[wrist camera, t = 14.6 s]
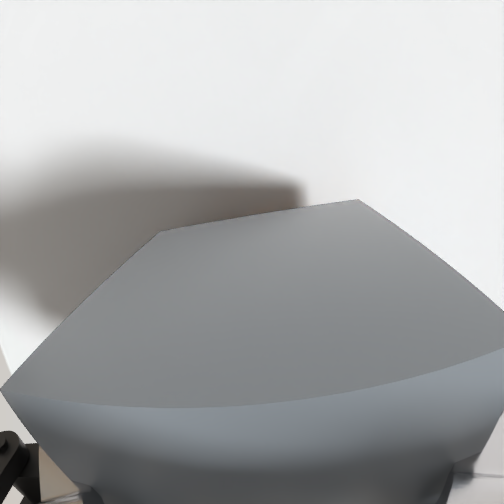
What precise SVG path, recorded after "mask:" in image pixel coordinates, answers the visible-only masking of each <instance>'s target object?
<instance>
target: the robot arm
mask: <svg viewBox="0 0 504 504" xmlns="http://www.w3.org/2000/svg"><path fill="white" fill-rule="evenodd" d="M12 485H13V486H14V487H15V488H16V489H17V490H18V491H19V492H20V493H21V494H22V495H24V498H23V499H22V501H21V503H20V504H104V502H103V499H102V497H101V496H100V495H99V494H98V493H97V492H96V491H95V490H94V489H93V488H92V487H91V486H90V485H87V484H83V483H79V482H76V481H72V480H70V479H69V478H68V477H67V476H66V475H65V474H64V473H63V472H62V471H61V470H60V468H59V467H58V466H57V465H56V464H55V463H54V462H53V461H52V460H51V458H50V457H49V456H48V455H47V454H46V453H45V451H44V450H43V449H42V448H41V447H40V445H39V444H38V443H33V444H24V443H23V442H22V440H21V439H20V438H19V436H18V435H17V434H16V433H15V432H13V431H3V432H0V504H2V503H3V500H4V499H5V497H6V496H7V494H8V492H9V491H10V489H11V487H12ZM435 504H504V409H503V412H502V414H501V416H500V418H499V420H498V422H497V424H496V426H495V428H494V430H493V432H492V434H491V436H490V438H489V440H488V442H487V444H486V446H485V447H484V449H483V451H481V452H479V453H477V454H474V455H472V456H470V457H467V458H465V459H462V460H460V461H457V462H455V463H454V465H453V467H452V469H451V471H450V473H449V474H448V477H447V480H446V483H445V485H444V488H443V490H442V493H441V495H440V497H439V499H438V500H437V502H436V503H435Z"/></svg>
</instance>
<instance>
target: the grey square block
mask: <svg viewBox="0 0 504 504" xmlns="http://www.w3.org/2000/svg"><path fill="white" fill-rule="evenodd" d="M0 391H1V393H2V394H3V396H4V397H5V399H6V401H7V402H8V404H9V405H10V406H11V408H12V409H13V411H14V412H15V414H16V415H17V417H18V418H19V419H20V420H21V422H22V423H23V425H24V426H25V427H26V429H27V430H28V431H29V433H30V434H31V435H32V437H33V438H34V439H35V440H36V442H37V443H38V444H39V445H40V447H41V448H42V449H43V450H44V451H45V453H46V454H47V455H48V456H49V457H50V458H51V460H52V461H53V462H54V463H55V464H56V465H57V466H58V467H59V468H60V470H61V471H62V472H63V473H64V474H65V475H66V476H67V477H68V478H69V479H70V480H72V481H76V482H79V483H83V484H87V485H90V486H91V487H92V488H93V489H94V490H95V491H96V492H97V493H98V494H99V495H100V496H101V497H102V499H103V502H104V504H435V503H436V502H437V500H438V499H439V497H440V495H441V493H442V490H443V488H444V485H445V483H446V480H447V477H448V474H449V473H450V471H451V469H452V467H453V465H454V463H455V462H457V461H460V460H462V459H465V458H467V457H470V456H472V455H474V454H477V453H479V452H481V451H483V449H484V447H485V446H486V444H487V442H488V440H489V438H490V436H491V434H492V432H493V430H494V428H495V426H496V424H497V422H498V420H499V418H500V416H501V414H502V412H503V409H504V311H503V310H502V309H501V308H500V307H498V306H497V305H496V304H495V303H494V302H493V301H492V300H491V299H489V298H488V297H487V296H486V295H485V294H484V293H482V292H481V291H480V290H479V289H478V288H477V287H475V286H474V285H473V284H472V283H471V282H469V281H468V280H467V279H466V278H465V277H463V276H462V275H461V274H460V273H458V272H457V271H456V270H455V269H454V268H452V267H451V266H450V265H449V264H447V263H446V262H445V261H443V260H442V259H441V258H440V257H438V256H437V255H436V254H434V253H433V252H432V251H431V250H429V249H428V248H427V247H425V246H424V245H423V244H421V243H420V242H419V241H417V240H416V239H415V238H413V237H412V236H410V235H409V234H408V233H406V232H405V231H404V230H402V229H401V228H399V227H398V226H397V225H395V224H394V223H392V222H391V221H390V220H388V219H387V218H385V217H384V216H382V215H381V214H379V213H378V212H377V211H375V210H374V209H372V208H371V207H369V206H368V205H366V204H365V203H363V202H362V201H360V200H359V199H357V200H350V201H342V202H335V203H328V204H321V205H314V206H307V207H301V208H294V209H288V210H281V211H275V212H269V213H262V214H256V215H250V216H244V217H238V218H232V219H226V220H220V221H214V222H209V223H203V224H197V225H192V226H186V227H181V228H175V229H170V230H165V231H160V232H159V233H158V234H157V235H155V236H154V237H153V238H152V239H151V240H150V241H149V242H147V243H146V244H145V245H144V246H143V247H142V248H141V249H139V250H138V251H137V252H136V253H135V254H134V255H133V256H132V257H130V258H129V259H128V260H127V261H126V262H125V263H124V264H123V265H122V266H121V267H119V268H118V269H117V270H116V271H115V272H114V273H113V274H112V275H111V276H110V277H109V278H107V279H106V280H105V281H104V282H103V283H102V284H101V285H100V286H99V287H98V288H97V289H96V290H95V291H94V292H93V293H92V294H91V295H89V296H88V297H87V298H86V299H85V300H84V301H83V302H82V303H81V304H80V305H79V306H78V307H77V308H76V309H75V310H74V311H73V312H72V313H71V314H70V315H69V316H68V317H67V318H66V319H65V320H64V321H63V322H62V323H61V324H60V325H59V326H58V327H57V328H56V329H55V330H54V331H53V332H52V333H51V334H50V335H49V336H48V337H47V338H46V339H45V340H44V341H43V342H42V343H41V345H40V346H39V347H38V348H37V349H36V350H35V351H34V352H33V353H32V354H31V355H30V356H29V357H28V358H27V359H26V361H25V362H24V363H23V364H22V365H21V366H20V367H19V368H18V369H17V370H16V371H15V373H14V374H13V375H12V376H11V377H10V378H9V379H8V381H7V382H6V383H5V384H4V385H3V386H2V387H1V388H0Z"/></svg>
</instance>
